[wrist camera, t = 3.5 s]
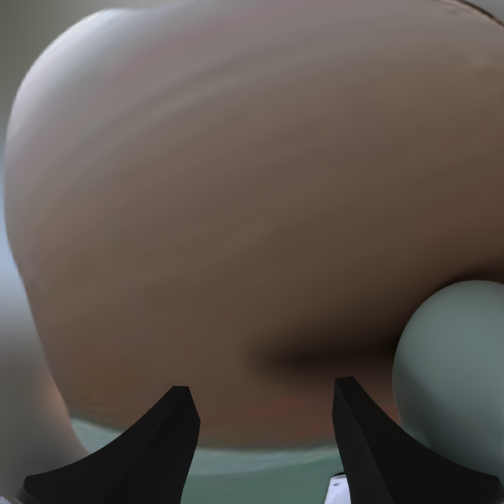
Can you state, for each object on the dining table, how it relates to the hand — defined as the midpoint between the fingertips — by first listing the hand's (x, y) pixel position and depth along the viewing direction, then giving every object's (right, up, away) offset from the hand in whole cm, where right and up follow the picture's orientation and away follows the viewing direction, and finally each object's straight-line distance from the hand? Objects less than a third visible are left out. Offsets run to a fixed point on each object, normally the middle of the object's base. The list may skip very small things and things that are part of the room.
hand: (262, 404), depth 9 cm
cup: (+9, +1, +2) cm, 9 cm away
